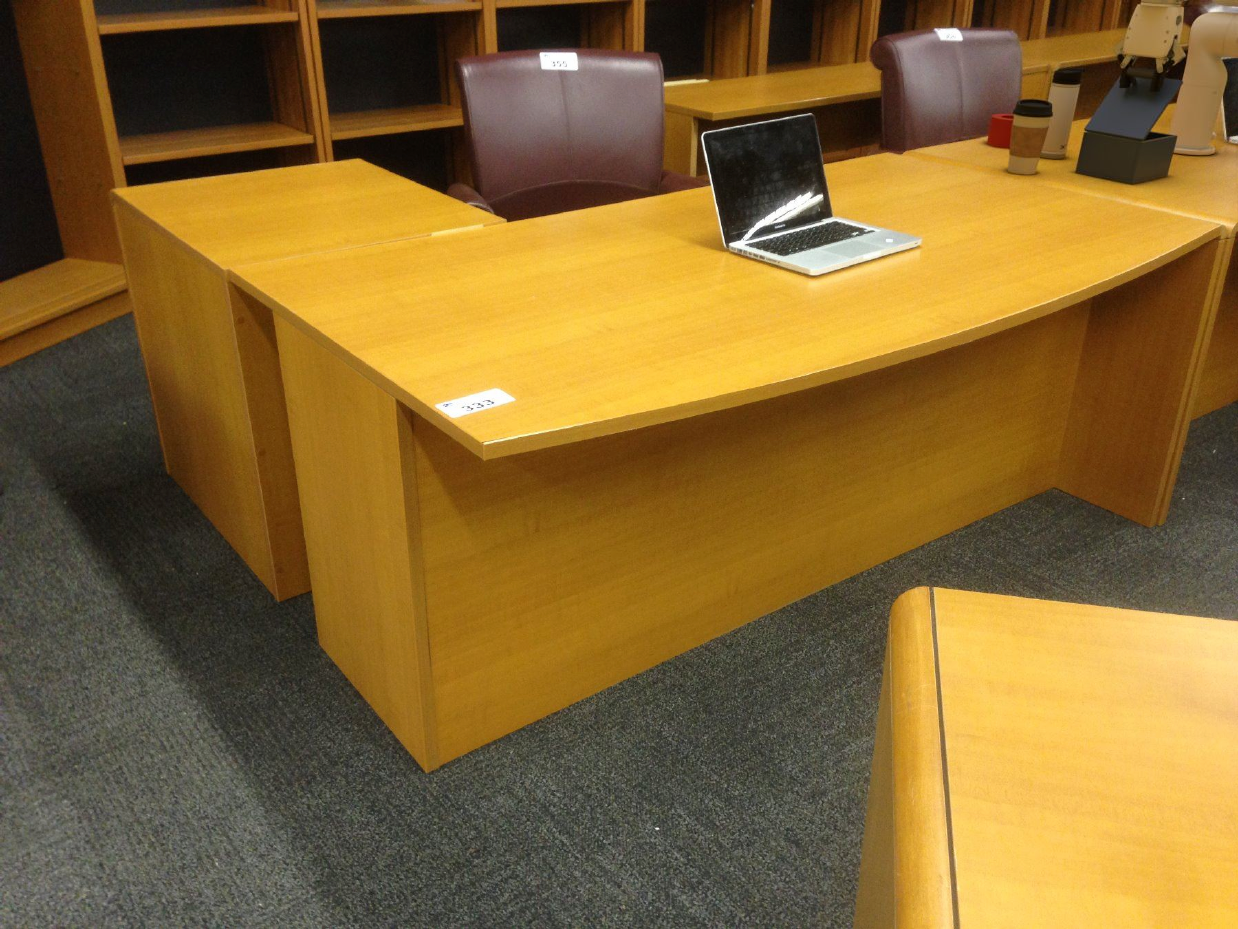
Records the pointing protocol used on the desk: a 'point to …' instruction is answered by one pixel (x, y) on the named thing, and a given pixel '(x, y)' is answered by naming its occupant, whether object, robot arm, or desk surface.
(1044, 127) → the coffee cup
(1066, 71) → the travel mug
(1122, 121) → the lid
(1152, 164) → the dark grey hollow box
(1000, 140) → the lever
